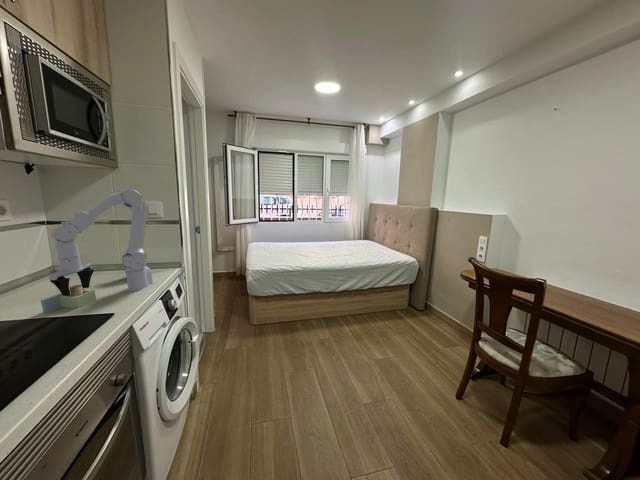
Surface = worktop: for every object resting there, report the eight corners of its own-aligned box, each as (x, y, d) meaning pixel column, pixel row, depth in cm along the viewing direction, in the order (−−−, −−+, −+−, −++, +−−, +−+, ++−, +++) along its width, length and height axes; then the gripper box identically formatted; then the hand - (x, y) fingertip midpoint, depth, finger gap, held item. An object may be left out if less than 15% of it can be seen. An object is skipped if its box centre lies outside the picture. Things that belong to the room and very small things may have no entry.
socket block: (79, 299, 103) (77, 290, 102) (96, 299, 102) (94, 290, 102) (60, 307, 96) (58, 297, 95) (78, 307, 95) (76, 297, 95)
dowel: (87, 301, 101) (84, 285, 99) (78, 305, 97) (75, 288, 96) (79, 301, 101) (76, 284, 100) (70, 305, 98) (67, 288, 96)
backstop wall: (81, 297, 105) (79, 285, 104) (85, 297, 105) (83, 285, 104) (43, 313, 92) (40, 300, 91) (47, 313, 92) (44, 300, 91)
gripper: (78, 252, 103) (85, 284, 106) (37, 262, 89) (45, 299, 91) (94, 252, 103) (101, 284, 105) (56, 262, 88) (64, 299, 91)
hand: (76, 291), depth 98 cm, fingers open, 7 cm apart
